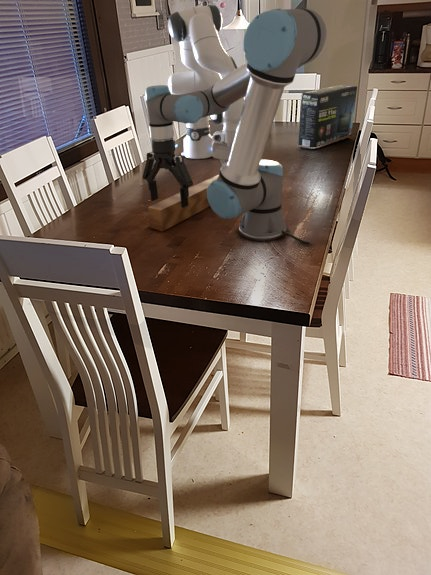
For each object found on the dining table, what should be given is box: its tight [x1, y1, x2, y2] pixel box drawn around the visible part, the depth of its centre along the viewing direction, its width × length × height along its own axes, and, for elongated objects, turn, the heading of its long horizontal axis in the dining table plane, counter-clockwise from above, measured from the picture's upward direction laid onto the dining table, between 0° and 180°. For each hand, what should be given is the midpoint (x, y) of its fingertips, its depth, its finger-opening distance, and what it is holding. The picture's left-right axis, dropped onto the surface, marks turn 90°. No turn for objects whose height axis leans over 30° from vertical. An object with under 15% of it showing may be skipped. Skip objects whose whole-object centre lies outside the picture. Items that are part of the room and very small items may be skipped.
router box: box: [297, 84, 358, 151], centre depth 238 cm, size 36×11×27 cm, turn 134°
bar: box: [147, 174, 219, 232], centre depth 172 cm, size 55×6×7 cm, turn 144°
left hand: (235, 171), depth 184 cm, fingers open, 8 cm apart
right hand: (169, 203), depth 156 cm, fingers open, 13 cm apart
